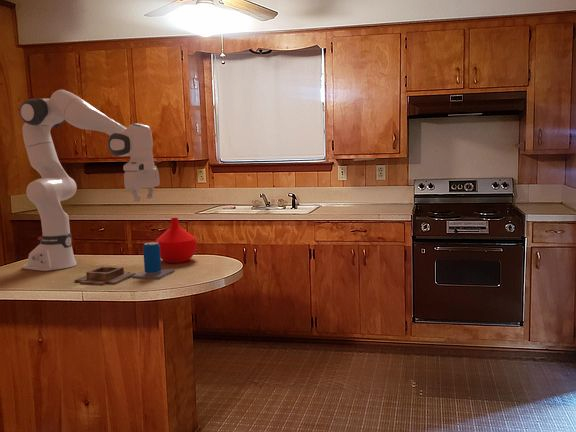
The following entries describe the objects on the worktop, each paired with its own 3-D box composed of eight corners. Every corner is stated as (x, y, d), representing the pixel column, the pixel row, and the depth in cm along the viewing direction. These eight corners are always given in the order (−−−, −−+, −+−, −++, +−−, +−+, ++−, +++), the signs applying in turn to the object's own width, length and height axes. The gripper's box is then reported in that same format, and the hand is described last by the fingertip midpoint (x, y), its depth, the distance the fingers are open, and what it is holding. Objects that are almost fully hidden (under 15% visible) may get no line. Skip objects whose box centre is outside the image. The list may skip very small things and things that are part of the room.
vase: (148, 265, 243) (145, 221, 240) (166, 255, 261) (164, 215, 258) (188, 266, 239) (185, 221, 236) (203, 256, 257) (201, 215, 254)
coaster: (132, 277, 222) (132, 275, 222) (148, 270, 233) (148, 268, 233) (159, 279, 218) (159, 277, 218) (174, 271, 229) (174, 269, 229)
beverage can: (145, 271, 228) (143, 242, 227) (162, 270, 229) (160, 241, 227) (143, 275, 222) (141, 245, 220) (160, 274, 223) (158, 244, 221)
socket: (71, 283, 216) (70, 274, 215) (100, 272, 233) (99, 263, 232) (112, 285, 211) (111, 276, 210) (138, 273, 228) (137, 265, 227)
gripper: (149, 163, 234) (150, 196, 236) (120, 166, 215) (122, 202, 217) (162, 163, 232) (164, 197, 234) (134, 166, 213) (136, 203, 215)
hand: (143, 199), depth 225 cm, fingers open, 8 cm apart
